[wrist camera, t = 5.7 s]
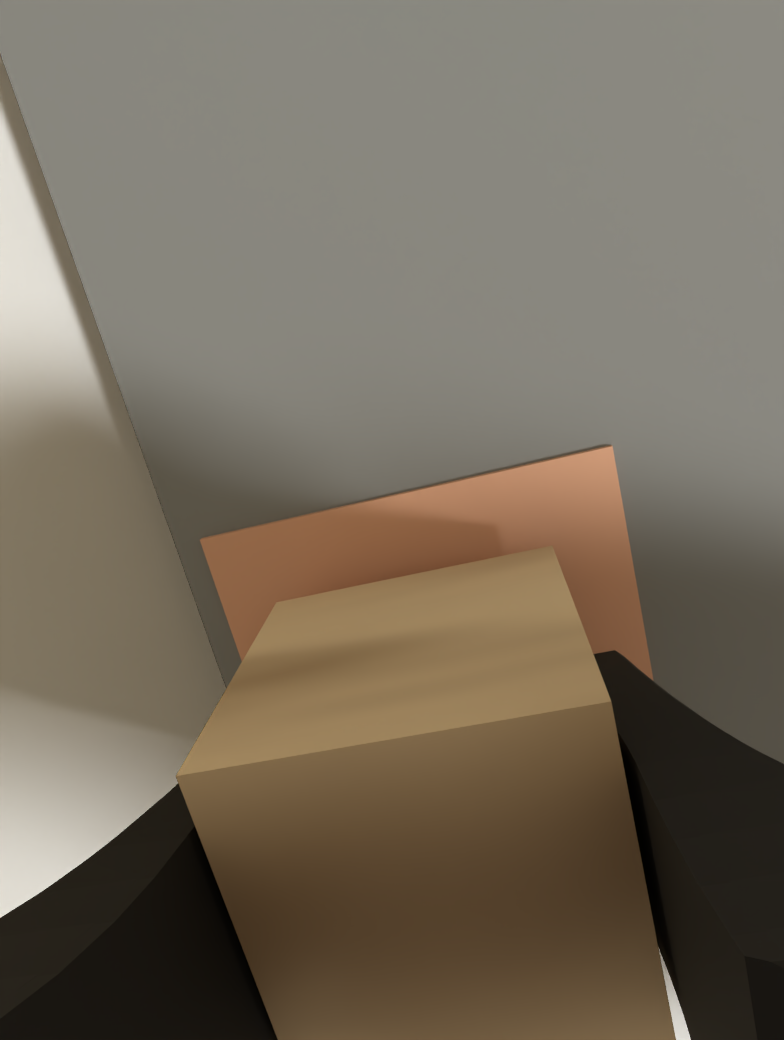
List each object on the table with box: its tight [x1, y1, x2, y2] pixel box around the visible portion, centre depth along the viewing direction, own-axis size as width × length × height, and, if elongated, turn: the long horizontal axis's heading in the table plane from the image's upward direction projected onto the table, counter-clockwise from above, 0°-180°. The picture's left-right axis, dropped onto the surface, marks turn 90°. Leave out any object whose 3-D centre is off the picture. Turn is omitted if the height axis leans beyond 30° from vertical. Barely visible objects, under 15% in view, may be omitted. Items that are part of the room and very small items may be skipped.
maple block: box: [176, 546, 676, 1040], centre depth 10 cm, size 4×4×4 cm
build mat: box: [0, 0, 784, 764], centre depth 11 cm, size 22×13×1 cm, turn 14°
